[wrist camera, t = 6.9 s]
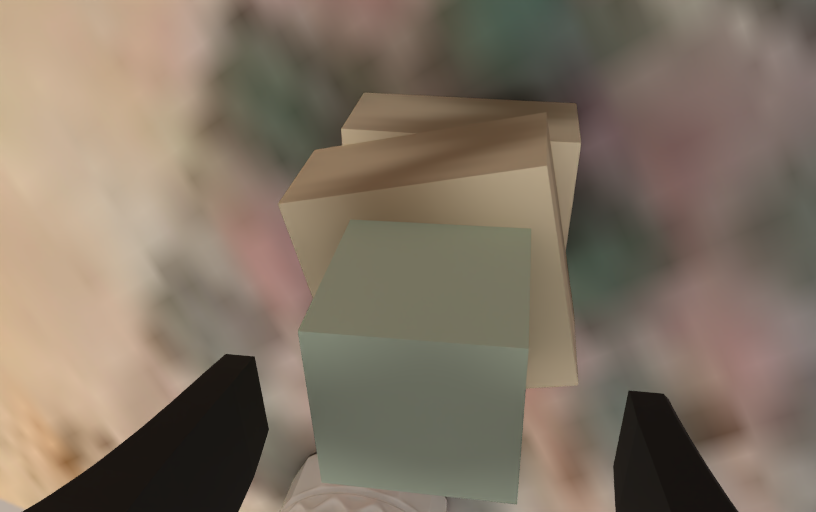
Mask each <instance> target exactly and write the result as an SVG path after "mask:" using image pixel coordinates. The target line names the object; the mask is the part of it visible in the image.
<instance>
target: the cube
mask: <svg viewBox="0 0 816 512" xmlns="http://www.w3.org/2000/svg"><path fill="white" fill-rule="evenodd" d="M530 267H531V229H529V228H510V227H490V226H470V225H450V224H430V223H410V222H390V221H370V220H350V222H349V224H348V226H347V228H346V230H345V232H344V234H343V236H342V239H341V241H340V243H339V245H338V247H337V249H336V251H335V253H334V256H333V258H332V260H331V262H330V264H329V266H328V268H327V270H326V272H325V275H324V277H323V279H322V281H321V283H320V285H319V287H318V289H317V292H316V294H315V296H314V298H313V300H312V302H311V304H310V306H309V309H308V311H307V313H306V315H305V317H304V319H303V321H302V323H301V326H300V328H299V330H298V336H299V342H300V348H301V355H302V361H303V367H304V374H305V380H306V387H307V393H308V399H309V406H310V412H311V418H312V425H313V431H314V437H315V444H316V450H317V456H318V463H319V469H320V475H321V482H322V483H329V484H338V485H347V486H356V487H365V488H374V489H383V490H392V491H401V492H410V493H419V494H428V495H437V496H446V497H455V498H464V499H473V500H482V501H491V502H500V503H509V504H517V497H518V484H519V470H520V457H521V444H522V431H523V418H524V404H525V391H526V378H527V365H528V351H529V312H530Z"/></svg>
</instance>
